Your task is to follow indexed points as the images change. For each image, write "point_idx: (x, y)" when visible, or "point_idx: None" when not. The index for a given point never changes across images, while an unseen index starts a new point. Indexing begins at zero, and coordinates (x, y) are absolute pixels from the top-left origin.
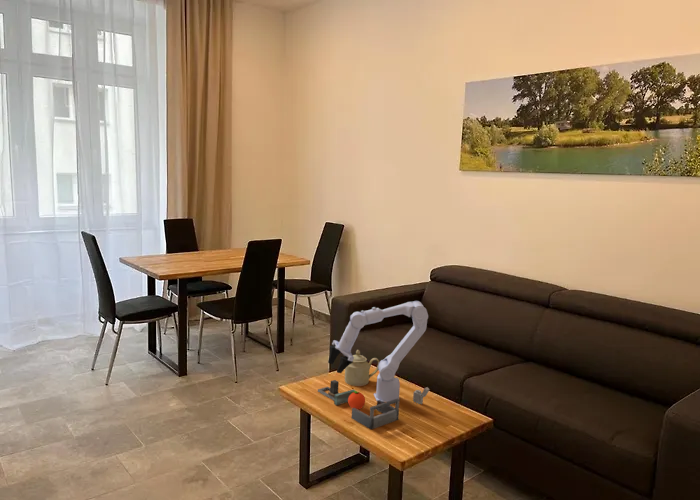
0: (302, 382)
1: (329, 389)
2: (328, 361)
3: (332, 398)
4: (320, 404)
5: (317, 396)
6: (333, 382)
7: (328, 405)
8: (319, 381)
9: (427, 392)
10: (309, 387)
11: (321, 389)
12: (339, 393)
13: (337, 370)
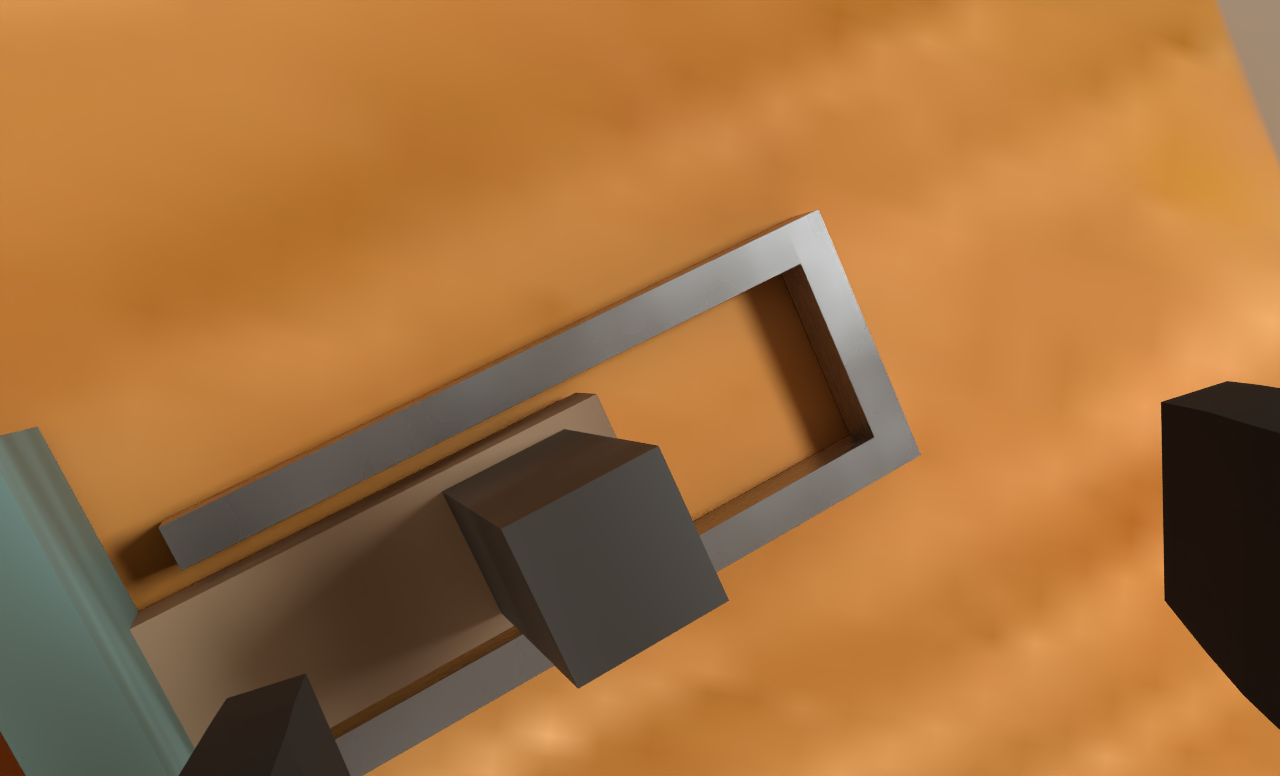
0: (1214, 32)
1: (807, 470)
2: (1261, 394)
3: (329, 441)
4: (99, 100)
5: (557, 148)
6: (536, 514)
7: (8, 277)
8: (1219, 364)
9: None
10: (997, 102)
11: (809, 291)
12: (65, 606)
13: (239, 734)
